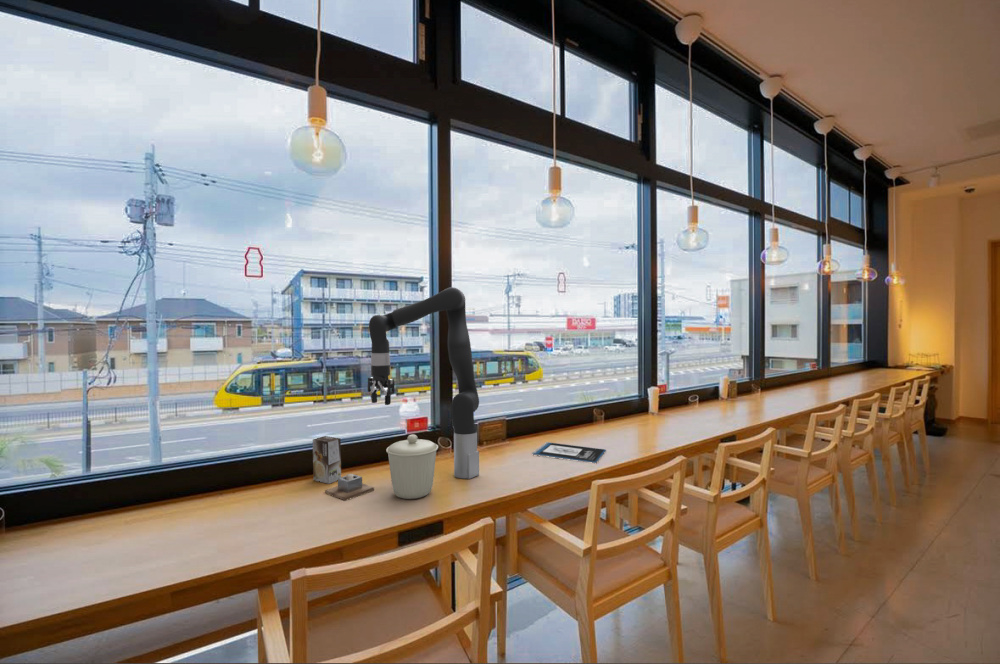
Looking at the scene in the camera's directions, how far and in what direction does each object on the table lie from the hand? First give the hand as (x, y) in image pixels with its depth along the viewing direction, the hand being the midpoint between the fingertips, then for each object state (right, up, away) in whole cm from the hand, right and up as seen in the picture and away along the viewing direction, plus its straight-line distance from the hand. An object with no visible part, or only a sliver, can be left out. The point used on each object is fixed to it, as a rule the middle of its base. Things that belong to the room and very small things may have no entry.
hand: (380, 403), depth 177 cm
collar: (-5, -27, -21) cm, 35 cm away
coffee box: (-19, -29, -8) cm, 35 cm away
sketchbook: (+81, -28, +27) cm, 90 cm away
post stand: (-6, -28, -21) cm, 35 cm away
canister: (+18, -28, -23) cm, 41 cm away
